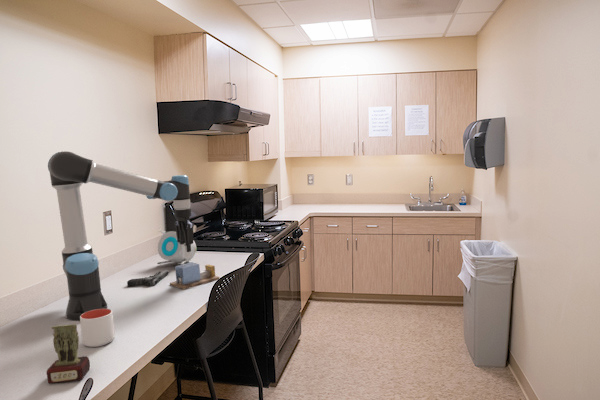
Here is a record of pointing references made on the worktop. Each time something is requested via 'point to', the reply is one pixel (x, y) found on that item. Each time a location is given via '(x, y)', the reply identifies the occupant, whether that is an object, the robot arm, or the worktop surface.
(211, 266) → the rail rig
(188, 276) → the slate grey block
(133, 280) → the handgun
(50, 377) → the sculpture
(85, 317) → the cup
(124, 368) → the worktop surface
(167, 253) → the satellite
